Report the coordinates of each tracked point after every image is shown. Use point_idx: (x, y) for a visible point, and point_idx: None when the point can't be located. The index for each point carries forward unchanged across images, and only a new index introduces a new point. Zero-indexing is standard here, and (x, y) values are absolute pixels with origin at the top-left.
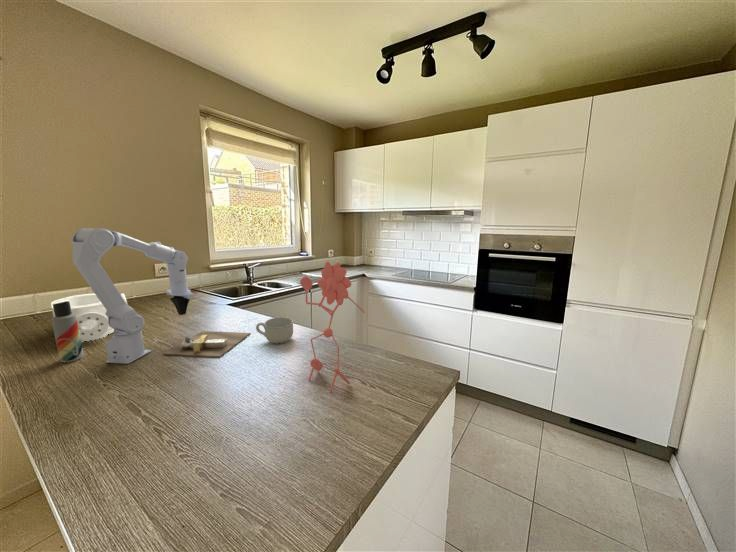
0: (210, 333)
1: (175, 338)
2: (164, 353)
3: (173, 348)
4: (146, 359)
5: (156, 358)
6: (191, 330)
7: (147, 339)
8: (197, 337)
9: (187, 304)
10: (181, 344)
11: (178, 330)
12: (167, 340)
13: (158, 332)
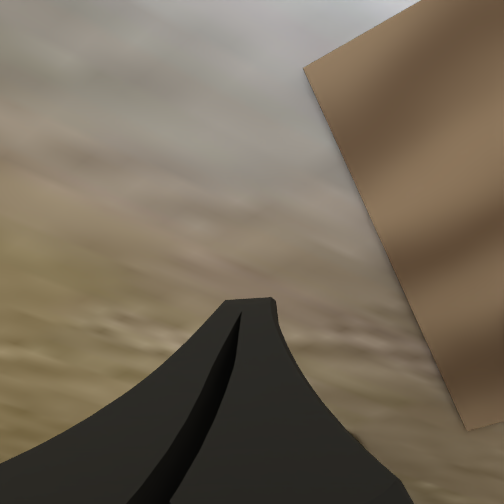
0: (450, 54)
1: (246, 269)
2: (475, 427)
3: (457, 376)
4: (431, 476)
5: (471, 454)
6: (158, 105)
7: (112, 364)
8: (424, 186)
9: (306, 386)
10: (443, 322)
11: (71, 174)
12: None
13: (13, 277)
